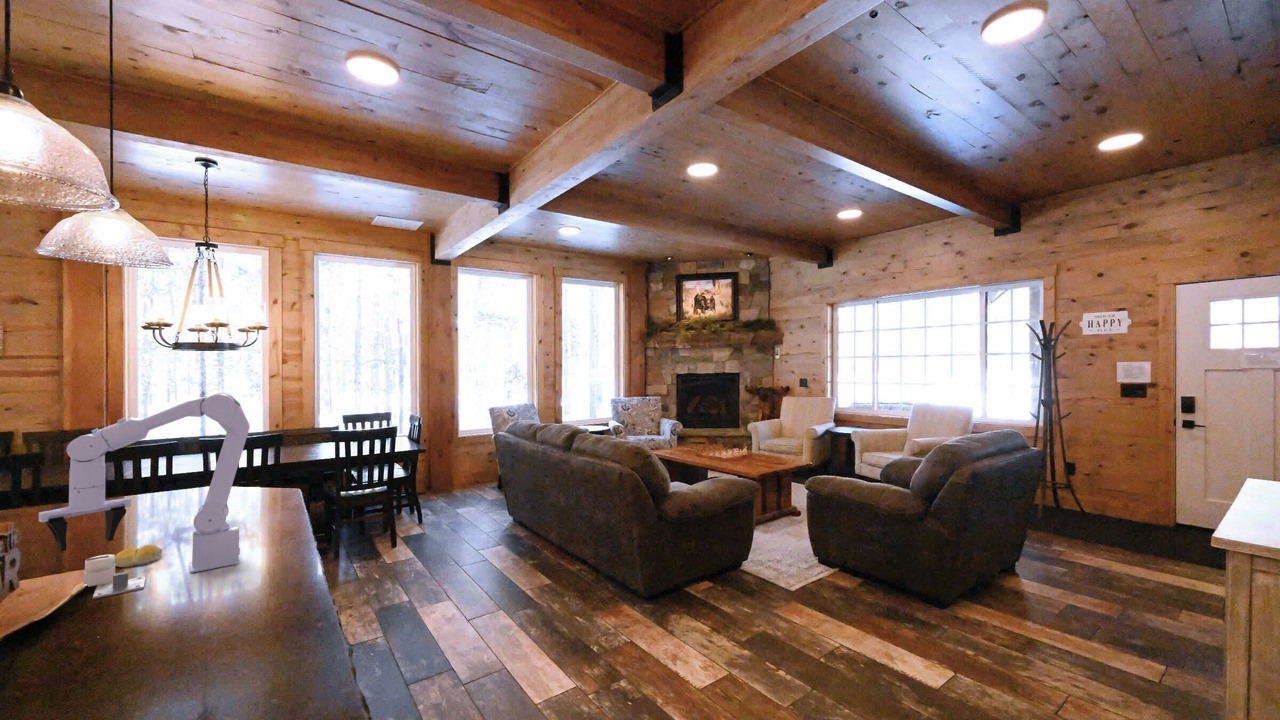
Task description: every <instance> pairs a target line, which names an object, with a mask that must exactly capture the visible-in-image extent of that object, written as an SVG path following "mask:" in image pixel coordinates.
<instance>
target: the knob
mask: <svg viewBox="0 0 1280 720" xmlns="http://www.w3.org/2000/svg"><path fill="white" fill-rule="evenodd" d="M115 556H116V554H103V555H97V556H93V557H92V556H91V557H89V558H86V559H85V561H84V572H83V581H82V582H83V583H82V584H87V585H88V587H93V586H97V585H101V584H107V583H112V582H113V575H114V574H116V566H115Z"/></svg>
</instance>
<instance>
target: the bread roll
mask: <svg viewBox="0 0 1280 720" xmlns="http://www.w3.org/2000/svg"><path fill="white" fill-rule="evenodd" d="M162 555H163V549H162V548H161V547H158V546H157V545H153V544H145V545H143V546H141V547H129V548H126V549H123V550H121V551H120V552H118V553H116V554H115V567H117V568H118V567H119V568H127V567H129V568H130V567H134V566H142V565H143V566H144V565H146V564H147V565H148V564H150V563H153V562H156V561H158V560H159V559H161V557H162Z"/></svg>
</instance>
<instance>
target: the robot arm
mask: <svg viewBox="0 0 1280 720" xmlns="http://www.w3.org/2000/svg"><path fill="white" fill-rule="evenodd" d="M241 405H242V404H241V403H240V402H239V401H238V400H237V399H235V397H233V396H232V395H231V394H230V393H229V394H228V393H225V392H218V393H217V392H216V393H215V394H212V395H209V396H205V397H204V396H203V397H199V398H196V399H191V400H188V401H186V402H183V403H180V404H177V405H175V406H172V407H170V408H168V409H165V410H162V411H160V412H157V413H156V414H154V415H153V414H152V415H151V416H147V417H146V418H143V419H142V418H136V417H129V418H126V417H122V418H120V419H118V420H117V422H116V423H114V424H111V425H108V426H106V427H102V428H100V429H99V428H98V427H97V428H95V429H92V430H91V433H88V434H84V435H80V436H78V437H76V438H74V439H73V440H71V441H70V442H69V443H68V445H67V446H66V454H67V456H68V457H69V458H70V461H69V464H70V466H69V467H70V468H69V476H68V477H69V478H68V480H69V481H68V482H69V483H68V485H69V486H68V506H65V507H60V508H56V509H51V510H45V511H39V512H38V522H40V523H44V524H45V525H46V526H47V528H48V529H49V530H50V532H51V533H52V535H53V537H54V539H55V542H56V544H57V550H58V551H59V552H65V551H67V531H68V524H69V522H68V521H66V518H70V517H76V516H82V515H87V514H88V515H89V514H93V513H99V512H104V516H105V541H108V542H112V541H114V539H115V538H114V537H115V533H116V532H117V529H118V527H119V524H120V523H121V521H122V520H123V518H124V516H125V515H126V513H127V508H130V507H131V506H132V499H131V498H128V497H126V498H119V499H117V498H116V499H111V500H106V470H107V469H106V453H107V452H114V451H116V450H118V449H121V448H124V447H126V446H129V445H131V444H134V443H136V442H139V441H142V440H145V439H146V437H147V436H148V434H149V432H150V431H152V430H154V429H158V428H159V427H162V426H164V425H167V424H168V425H169V424H170V423H173V422H176V421H179V420H181V419H183V418H186V417H195V418H197V417H199V418H200V417H203V416H205V417H208V418H209V419H211V420H213V421H215V422H217V423H218V424H219V426H221V428H222V429H223V431H225V436H224V440H223V443H222V447H221V449H220V452H219V456H218V459H217V461H216V462H217V463H216V466H215V469H214V472H213V475H212V479H211V482H210V485H209V488H208V490H207V493H206V497H205V500H204V502H203V505H201V506H200V508H198V511H197V514H196V515H195V517H194V519H193V526H194V528H195V529H193V530H192V553H191V554H192V556H191V557H192V559H191V562H189V573H191V574H192V573H197V572H198V573H199V572H202V571H208V570H212V569H217V568H222V567H223V568H224V567H227V566H233V565H237V564H240V563H239V562H240V561H239V558H240V557H239V556H240V554H241V550H240V549H241V548H240V528H239V526H230V524H229V523H228V522H227V517H228V515H229V510H230V509H229V507H228V501H229V497H230V493H231V490H232V487H233V483H234V480H235V477H236V474H237V470H238V467H239V464H240V460H241V457H242V453H243V452H244V451H243V450H244V448H245V447H244V446H245V444H246V440H247V438H248V434H249V431H250V426H251V425H250V423H249V421H248V419H247V417H246V415H245V412H244V409H243V408H242V406H241Z"/></svg>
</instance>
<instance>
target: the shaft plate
mask: <svg viewBox="0 0 1280 720" xmlns="http://www.w3.org/2000/svg"><path fill="white" fill-rule="evenodd" d="M146 579H147V577H146V576H145V575H144V576H140V577H139V576H138V577H134V578H129V571H127V570H126V571H123V572H118V573H116V572H115V574H114V575H113V582H110V583H105V584H100V585H96V588H95V590H94V593H93V596H92V600H95V599H99V598H104V597H105V598H106V597H110V596H115V595H120V594H123V593H130V592H133V591H134V592H135V591H140V590H144V589H145V583H146Z"/></svg>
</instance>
